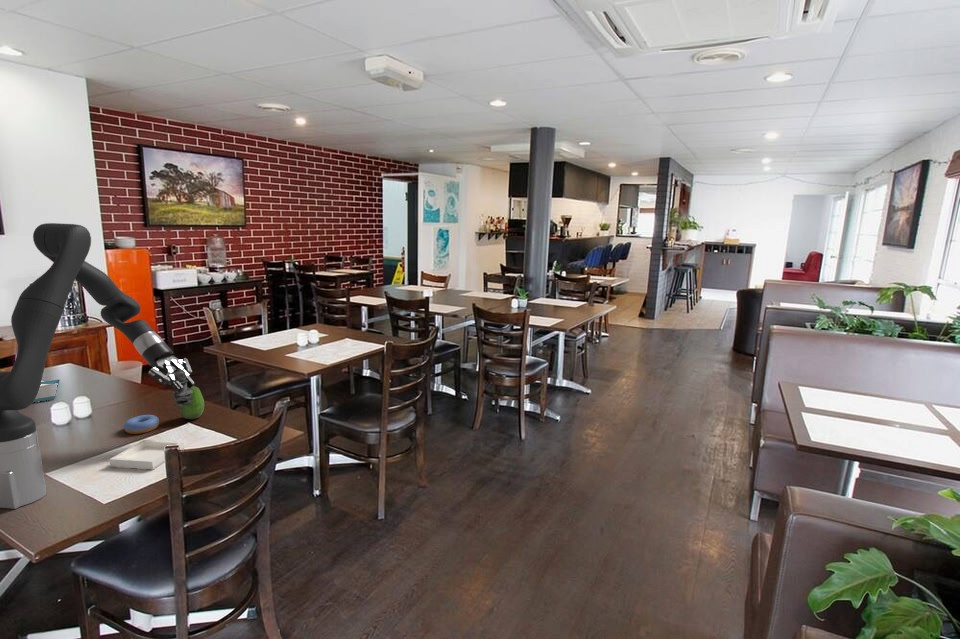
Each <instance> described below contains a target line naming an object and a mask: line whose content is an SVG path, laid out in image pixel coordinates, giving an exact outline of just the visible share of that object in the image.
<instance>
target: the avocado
mask: <svg viewBox="0 0 960 639" xmlns="http://www.w3.org/2000/svg"><path fill="white" fill-rule="evenodd" d="M187 387H188V386H187ZM188 389H189V390H192V391H193V393H192V396H191V398H190V399H189V400H192V401H193V403H191V404H189V405H185V406H178V407H179V412H180V414H181V416H182V417H183V418H184V419H187V420H196V419H198V418H199V417H201V416H202V414H203V413H204V409H205V400H204V397H203V394H202V392H201V390H200V388H199V387H197V386H195V385H194V386H193V387H192V388H189V387H188Z"/></svg>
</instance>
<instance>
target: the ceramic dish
mask: <svg viewBox="0 0 960 639" xmlns="http://www.w3.org/2000/svg"><path fill="white" fill-rule="evenodd" d="M184 444H185V443H184V441H172V440H170V441H169V440H157V439H156V440H154V439H152V440H151V439H143V440H142V441H139V442H138V443H136V444H133V446H131V447H129V448H127V449H125V450H123V451H122V452H119V453H118V454H116V455H114V456H113V457H110V458H109V465H110V468H114V467H117V468H118V469H130V468H137V469H136V470H146V469H151V470H150V471H154V470H155V469H157V468H158V467H160V466H161V465H163V464H164V447H165V446H167V445H179V446H180V448H181V449H184V450H185V445H184ZM117 468H116V469H117Z"/></svg>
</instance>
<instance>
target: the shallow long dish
mask: <svg viewBox="0 0 960 639" xmlns="http://www.w3.org/2000/svg"><path fill="white" fill-rule="evenodd" d="M60 382H61V379H53V380H45V381H41V384H55V383H58V385H57V390H56V394H55V396H48V397H41V398H35V400H34V401H33V402H38V401H45V402H47V401H46V400H52V401H55V400H56V397H57V394H58V389H59V387H60ZM54 399H55V400H54Z"/></svg>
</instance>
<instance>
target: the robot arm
mask: <svg viewBox="0 0 960 639" xmlns="http://www.w3.org/2000/svg"><path fill="white" fill-rule="evenodd" d="M32 240H33V244H34V246H35V247H36V248H37V250H38V251H39V252H40V253H41V254H42V255H43V256H44V257H45V258H47V259H48V260H49V261H51V262H52V264H51V266H50V267H49V268H48V269H47V271H45V272H44V273H43V274H42V275H40V276H39V277H37V278H36V279H35V280H34V281H33V282H32V283H30V284H29V285H28V286H27V287H26V288H25V289H24V290H23V291H22V292H21V293H20V295H19V297H18V300H17V301H16V303H15V307H14V310H13V311H12V313H11V319H10V320H11V322H10V323H11V327H12V328H11V329H12V331H13V334H14V337H15V341H16V345H17V351H16V352H17V353H16V356H15V357H16V358H15V361H14V362H13V365H12V368H11V370H10V371H0V508H1V509H14V510H16V509H18V508H19V507H22V506H26V505H29V504H31V503H35V502H36V501H38V500H40V499H42V498H43V497H45V495H46V494H47V493H48V492H47V486H46V485H47V484H46V479H45V474H44V467H43V461H42V455H41V448H40V445H39V444H40V443H39V438H38V432H37V426H36V422H35V420H34V419H33V418H32V417H29V416H28V415H25V414H23V413H22V412H20V411H21V410H25V409H27V408H28V407H29V406H31V405H33V404H34V403H33V401H34V400H35V398H36V396H37V394H38V391H39V388H40V385H41V382H42V379H43V376H44V371H45V365H46V362H47V358H48V356H49V351H50V347H51V344H52V342H53V338H54V336H55V333H56V330H57V328H58V326H59V324H60V321H61V318H62V316H63V313H64V311H65V306H66V303H67V300H68V298H69V295H70V293H71V291H72V288H73V285H74V283H75V281H77V283H78V284H79V285H80V286H81V287H83V288H84V290H85V291H86V292H87V293H88V294H89V295H90V296H91V298H92V299H93V300H94V301H95V302H96V303H97V304H98V305H99V306H100V305H101V306H103V307H102V308H101V310H100V317H101V318H102V320H103V321H104V322H106V323H107V324H109V325H110V326H112V327H113V328H115V329H116V330H118V331H119V332H121V333H122V334H123V335H124V336H125V337H126V338H127V339H128V340H129V341H130V343H131V344H132V345H133V346H134V347H135V350H136V351H137V352H138V353H139V355H140V356H141V357H142V358H143V359H144V361H145V362H146V363H147V364H148V365H149V366H150V367H152V368H150V369H149V371H148V373H147V375H148V376H149V377H151V378H152V379H153V380H155V381H157V382H159V383H160V384H162V385H166V384H168V385H170V386H172V388H173V389H174V390H175V391H178V392H182V390H183V389H184V387H183V386H182V385H181V384H180V382H179V381H178V380H176V375H175V373H176V372H177V371H178V370H179V368H181V370H184V371H185V372H186V380H188V381H187V387H189V388H192V387H193V386H195V381H194V380H193V379H192V377H191V376H190V375H191V373H193V370H192V367H191V365H190V363H189V360H188V358H186V357H184V358H183V359H179V358H178V357H176V356H175V354H174V351H173V350H172V349H171V347H169V346H168V344H167V343H166V342H165V341H164V339H162V337H161V336H160V335H159V334H158V333H156V332H155V330H154V329H153V328H152V326H150V324H149V323H148V322H147V321H146V320H144V319H137V320H133V321H130V322H127V321H129V320H131V319H133V318H135V317H137V316H138V315H139V314H140V313H141V305H140V303H139V302H138V301H137V300H136V299H134V298H133V297H131V296H130V295H128V294H126V293H125V292H123V291H121V289H119V287H118V286H117V285H116V284H115V282H114V281H113V280H112V278H111V277H110V276H109V275H108V274H106V273H105V272H104V271H102V270H100V268H98V267H96V266H94V265H93V264H90V263H89V262H88V261H85V260H86V258H87V256H88V254H89V252H90V249H91V246H92V236H91V233H90V231H89V229H88V228H87V227H85V226H84V225H81V224H75V223H60V222H59V223H58V222H56V223H54V222H52V223H51V222H48V223H46V222H45V223H41V224H40V225H38V226H37V227H35V229H34V231H33V234H32Z"/></svg>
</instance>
